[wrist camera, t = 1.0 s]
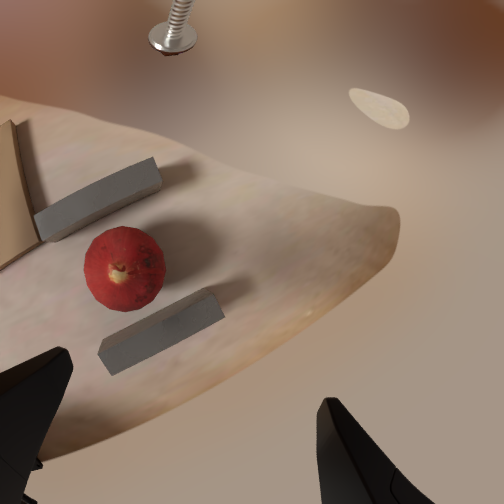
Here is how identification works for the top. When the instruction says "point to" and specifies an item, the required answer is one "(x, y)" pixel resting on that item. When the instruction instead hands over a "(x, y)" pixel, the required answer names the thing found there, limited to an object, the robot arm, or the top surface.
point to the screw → (174, 30)
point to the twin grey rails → (158, 324)
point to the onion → (124, 269)
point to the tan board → (14, 201)
